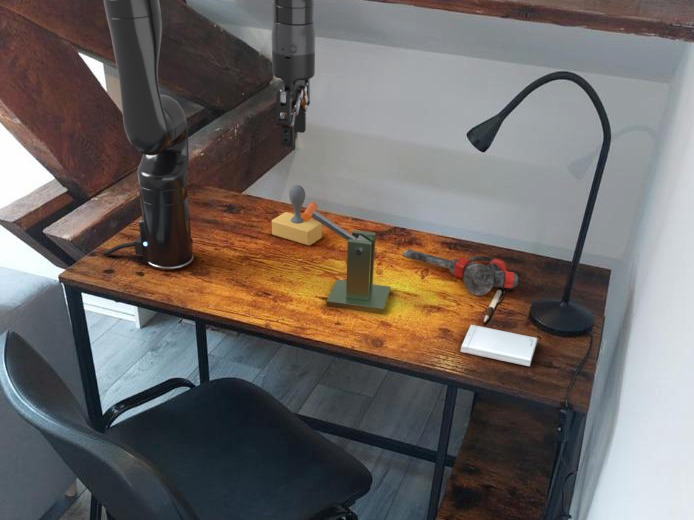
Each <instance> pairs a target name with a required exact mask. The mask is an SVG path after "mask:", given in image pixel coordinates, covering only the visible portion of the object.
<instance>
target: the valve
mask: <svg viewBox="0 0 694 520" xmlns="http://www.w3.org/2000/svg"><path fill="white" fill-rule="evenodd" d="M402 257H403V258H407V259H411V260H415V261H418V262H422V263H425V264H428V265H429V264H430V265H434V266H437V267H440V268H441V267H442V268H444V269H448V270H449V273H450V274H451V275H453V277H455V278H457V279H461V280H462V281H463V285H464V288H466V291H468V292H469V293H470V294H472V295H475V296H484V295H486V294H488V293H490V292H491V290H492V289H493V287H494V288H506V289H513V288H516V287H517V286H518V284H519V275H518V274H517V272H513V271H507V266H506V263H505V261H504V260H501V259H498V258H494V257H490V256H484V255H483V256H481V255H480V256H479V255H478V256H476V255H475V256H472V257H469V258H463V257H461V256H460V257H458V258H454V259H448V258H444V257H440V256H436V255H432V254H428V253H424V252H420V251H416V250H413V249H407V250H404V251H403V252H402ZM475 262H489V263H488V264H482V263H475Z"/></svg>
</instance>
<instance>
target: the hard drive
mask: <svg viewBox="0 0 694 520" xmlns="http://www.w3.org/2000/svg"><path fill="white" fill-rule="evenodd" d="M537 344H538V337H533V336H529V335H524V334H519V333H515V332H510V331H505V330H500V329H496V328H490V327H485V326H480V325H476V324H470V326H469V328H468V330H467V332H466V334H465V337H464V340H463V341H462V344H461V346H460V352H461V353H464V354H469V355H473V356H478V357H483V358H488V359H493V360H497V361H502V362H506V363H511V364H516V365H520V366H525V367H531V364H532V360H533V357H534V354H535V350H536V348H537Z"/></svg>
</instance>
